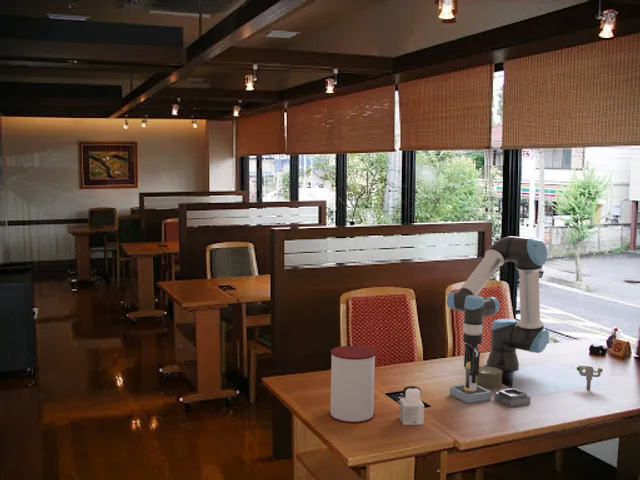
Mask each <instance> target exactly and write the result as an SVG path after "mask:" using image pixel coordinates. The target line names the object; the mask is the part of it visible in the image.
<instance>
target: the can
mask: <svg viewBox="0 0 640 480" xmlns="http://www.w3.org/2000/svg"><path fill="white" fill-rule="evenodd" d="M503 372H504V371H502V370H501V369H499V368H496V367H490V366H487V365H486V366H485V365H483V366H482V365H481V366H480V365H479V375H477V380H476V385H478V386H480V387H482V388H484V389H486V390H499V389H501V388H502V385H503Z"/></svg>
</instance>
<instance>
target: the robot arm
mask: <svg viewBox="0 0 640 480" xmlns="http://www.w3.org/2000/svg"><path fill="white" fill-rule="evenodd" d="M547 258H548V250H547V246H546V244H545V242H544V241H543V240H541V239H539V238H534V237H524V236H523V237H521V236H515V235H514V236H511V235H509V236H506V237H505V236H504V237H502V238H500V239H499V240H497V241H495V242H494V243H493V244H491V245H490V246H489V247H488V249H486V251H485V252H484V257H483V258H482V260H481V261H480V262H479V264H478V265H477V266H476V268H475V269H474V270H473V272H472V273H471V274H470V275H469V277H467V279H466V280H465V282H464V283H463V284H462V285H461V287H460V289H458V290H457V292H456V291H455V292H454V291H452V292H449V293H448V295H447V296H446V305H447V307H448V308H449V309H450V310H454V311H459V312H464V314H463V318H464V319H463V330H462V331H463V336H462V337H463V338H462V339H463V340H462V342H463V343H464V354H463V355H464V356H463V358H464V359H463V368H464V369H465V373H464V376H465V378H464V379H465V380H464V384H465V386H466V363H467V362H468V361H470V368H471V374H469V375H470V381H469V390H476V380H477V375H479V367H480V357H481V351H479V348H478V346H479V345H481V344H482V342H483V341H482V340H483V334H482V333H483V328H484V325H483V321H484V320H483V319H484V317H488V316H493V315H495V314H497V313H498V312H499V311H500V307H501V305H500V304H501V303H500V302H499V300H498V298H497V297H494V296H486V297H484V296H481V295H478V294H479V293H480V292H481V291H482V289H483V288H484V286H485V285H486V284H487V283H488V282H489V280H490V279H491V277H492V276H493V275H494V273H495V272H496V271H497V270H498V268H499V267H502V266H503V265H504V264H506V262H511V263H512V262H513V263H514V264H515V269H516V270H517V271H518V277H519V279H518V280H519V281H518V282H519V310H520V311H519V315H520V319H519V321H518V320H517V319H516V318H499V319H495V320H493V322H492V323H491V324H492V325H491V329H490V330H491V340H490V341H491V342H490V352H489V354H488V357H487V359H486V366H490V367H496V368H499V369H501V370H502V371H503V372H514V371H518V370H519V368H520V362H519V360H518V359H519V358H518V356H517V350H521V351H524V352H525V351H526V352H530V353H535V354H540V353H542V352H543V351H544V350H546V347H547V345H548V344H549V343H548V342H549V338H550V333H549V330H548V329H547V328H544V322H543V321H542V320H541V316H540V315H541V312H540V311H541V310H540V308H541V307H540V306H541V305H540V275H539V274H540V270H541V269H543V265H545V264H546V262H547Z"/></svg>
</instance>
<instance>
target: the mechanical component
mask: <svg viewBox="0 0 640 480" xmlns="http://www.w3.org/2000/svg"><path fill="white" fill-rule="evenodd" d="M576 371H578V374H579V375H580V376H581V377H585V380H586V390H587V391H591V384H592V380H593V378H594V377H595V378H599V377H600V376H601V375H602V374H601V373H603V368H601V367H598V368H597V370H595V368H594V367H593V366H592V365H591V366H588V365H578V366H577V367H576Z"/></svg>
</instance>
